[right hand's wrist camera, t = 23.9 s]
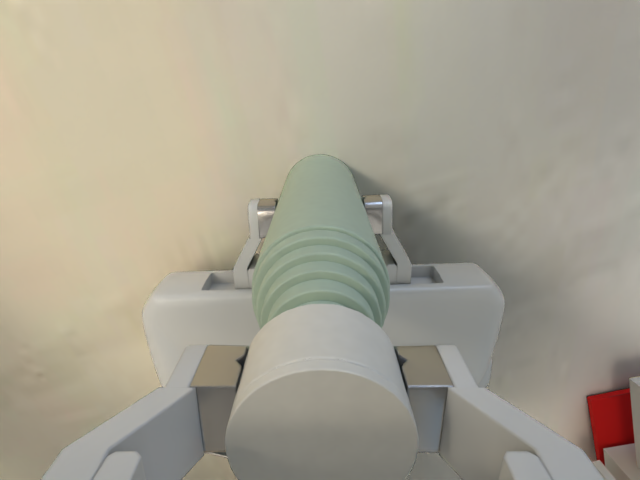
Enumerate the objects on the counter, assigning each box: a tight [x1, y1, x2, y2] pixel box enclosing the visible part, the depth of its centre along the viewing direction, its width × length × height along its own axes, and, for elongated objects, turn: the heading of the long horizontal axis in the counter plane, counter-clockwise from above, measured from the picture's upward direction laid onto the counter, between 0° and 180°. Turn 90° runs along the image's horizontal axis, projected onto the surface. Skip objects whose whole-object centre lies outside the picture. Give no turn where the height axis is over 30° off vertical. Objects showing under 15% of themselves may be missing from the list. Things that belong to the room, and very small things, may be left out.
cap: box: [225, 304, 419, 480], centre depth 9 cm, size 4×4×2 cm
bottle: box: [252, 155, 390, 329], centre depth 18 cm, size 5×5×20 cm
